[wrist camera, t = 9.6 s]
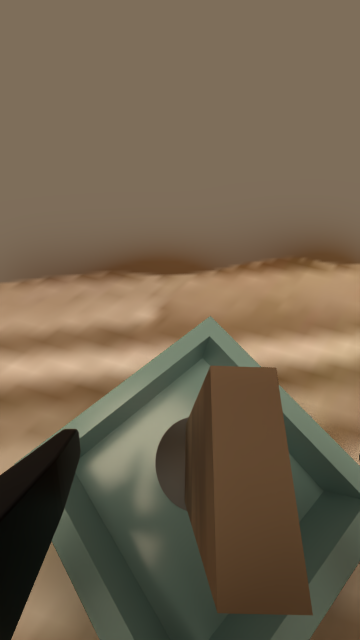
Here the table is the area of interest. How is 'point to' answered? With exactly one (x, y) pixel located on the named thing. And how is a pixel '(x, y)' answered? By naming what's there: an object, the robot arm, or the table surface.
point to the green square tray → (174, 523)
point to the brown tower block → (239, 492)
